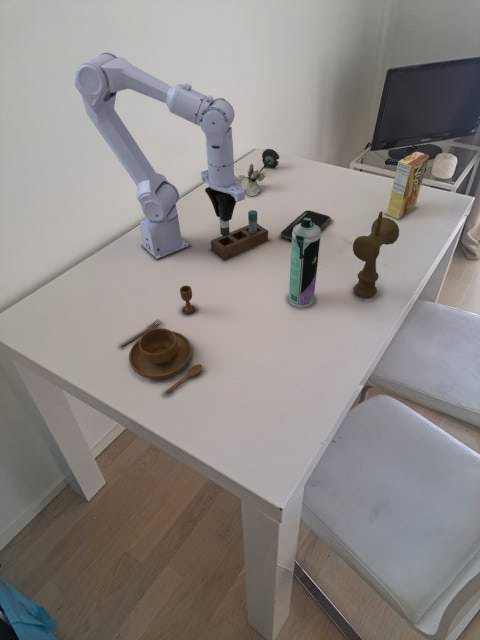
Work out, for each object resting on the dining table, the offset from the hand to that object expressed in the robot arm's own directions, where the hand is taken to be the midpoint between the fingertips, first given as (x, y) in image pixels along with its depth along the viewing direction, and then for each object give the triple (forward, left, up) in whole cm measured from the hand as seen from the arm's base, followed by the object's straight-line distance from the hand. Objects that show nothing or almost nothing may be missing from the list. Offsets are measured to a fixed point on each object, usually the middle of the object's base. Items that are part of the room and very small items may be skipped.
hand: (224, 217), depth 103 cm
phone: (+23, -5, -10) cm, 25 cm away
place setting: (-27, -21, -10) cm, 36 cm away
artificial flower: (+32, +26, -10) cm, 42 cm away
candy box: (+50, -15, -10) cm, 53 cm away
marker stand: (+4, 0, -10) cm, 11 cm away
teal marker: (+9, 0, -10) cm, 13 cm away
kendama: (+14, -33, -10) cm, 37 cm away
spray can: (+2, -26, -10) cm, 28 cm away
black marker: (0, 0, -4) cm, 4 cm away
